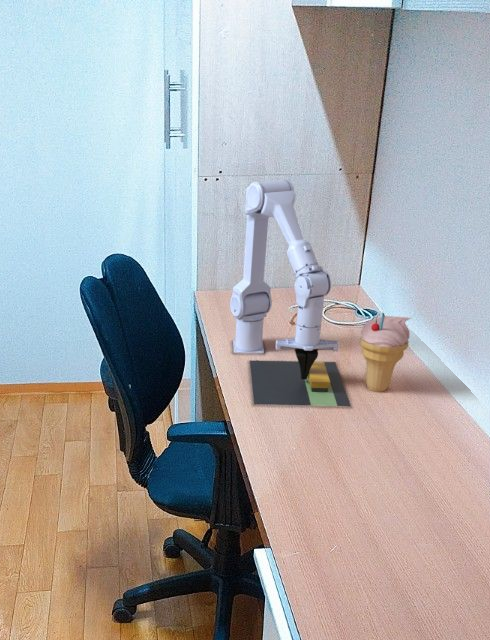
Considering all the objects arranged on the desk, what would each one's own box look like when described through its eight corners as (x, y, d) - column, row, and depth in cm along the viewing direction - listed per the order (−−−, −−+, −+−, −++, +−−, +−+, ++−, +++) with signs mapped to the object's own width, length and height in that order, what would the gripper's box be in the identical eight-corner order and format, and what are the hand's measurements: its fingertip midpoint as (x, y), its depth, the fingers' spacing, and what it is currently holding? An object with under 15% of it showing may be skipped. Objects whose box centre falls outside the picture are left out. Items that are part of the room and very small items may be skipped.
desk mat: (249, 361, 189) (249, 360, 189) (334, 363, 189) (334, 362, 188) (254, 405, 167) (254, 404, 167) (350, 407, 166) (350, 406, 166)
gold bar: (305, 372, 183) (306, 361, 181) (322, 372, 183) (324, 362, 181) (310, 392, 172) (311, 381, 171) (329, 393, 172) (330, 382, 171)
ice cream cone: (401, 399, 170) (415, 316, 160) (353, 395, 172) (364, 312, 161) (399, 380, 179) (412, 301, 169) (353, 377, 181) (364, 297, 171)
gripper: (278, 329, 167) (274, 383, 174) (342, 330, 166) (335, 385, 173) (276, 318, 173) (272, 372, 180) (338, 319, 172) (331, 373, 179)
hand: (303, 377), depth 177 cm, fingers closed
